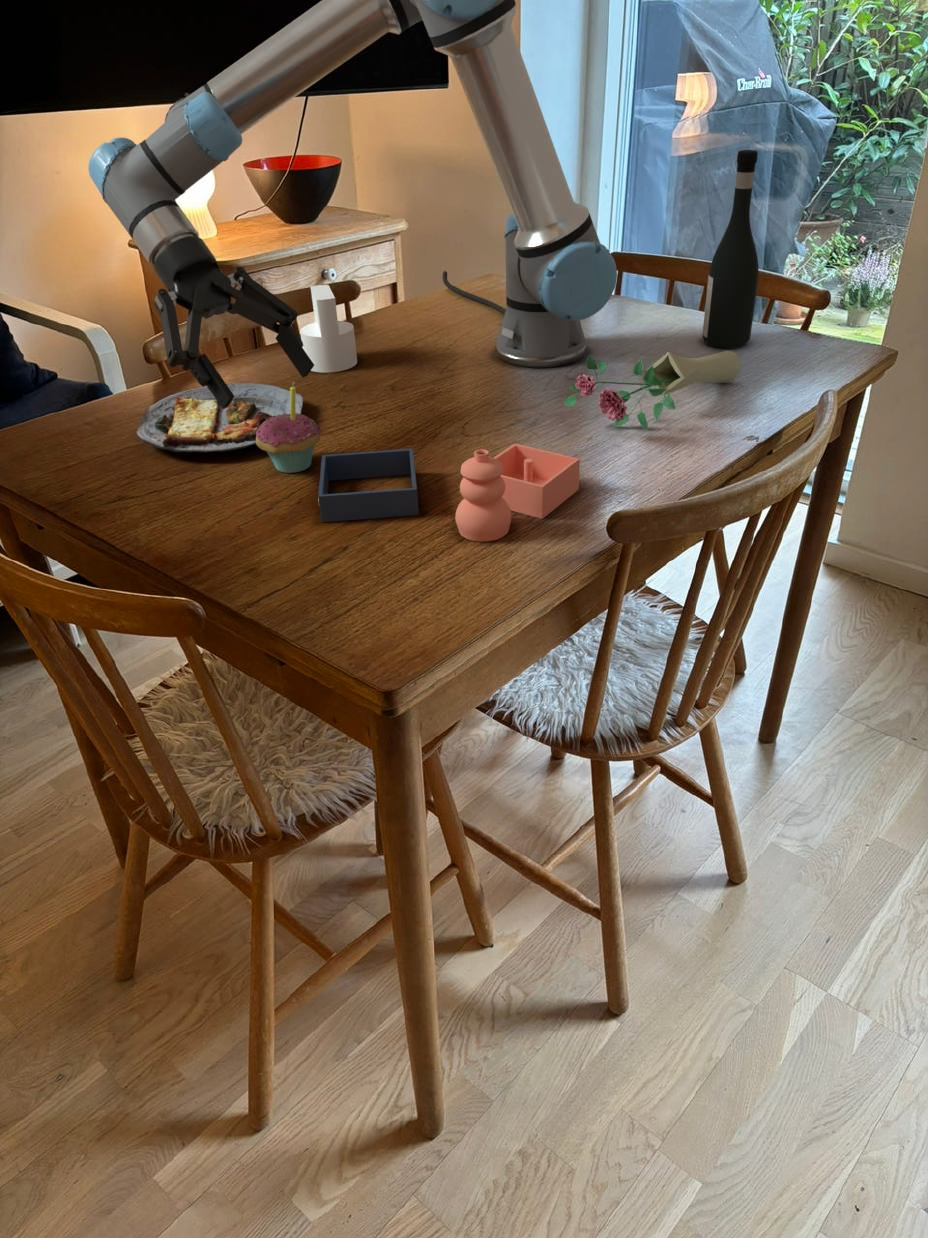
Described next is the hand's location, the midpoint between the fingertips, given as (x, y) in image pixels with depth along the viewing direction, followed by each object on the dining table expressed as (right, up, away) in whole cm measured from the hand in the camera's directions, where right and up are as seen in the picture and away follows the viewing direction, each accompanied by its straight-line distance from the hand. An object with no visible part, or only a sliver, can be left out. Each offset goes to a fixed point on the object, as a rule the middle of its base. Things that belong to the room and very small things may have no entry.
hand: (270, 386), depth 124 cm
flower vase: (+55, -1, +15) cm, 56 cm away
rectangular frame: (+14, -15, -4) cm, 20 cm away
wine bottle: (+71, +17, +40) cm, 83 cm away
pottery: (+31, -17, -8) cm, 36 cm away
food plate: (-10, -2, +17) cm, 20 cm away
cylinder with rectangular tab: (+3, +13, +39) cm, 41 cm away
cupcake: (+2, -10, +5) cm, 11 cm away
